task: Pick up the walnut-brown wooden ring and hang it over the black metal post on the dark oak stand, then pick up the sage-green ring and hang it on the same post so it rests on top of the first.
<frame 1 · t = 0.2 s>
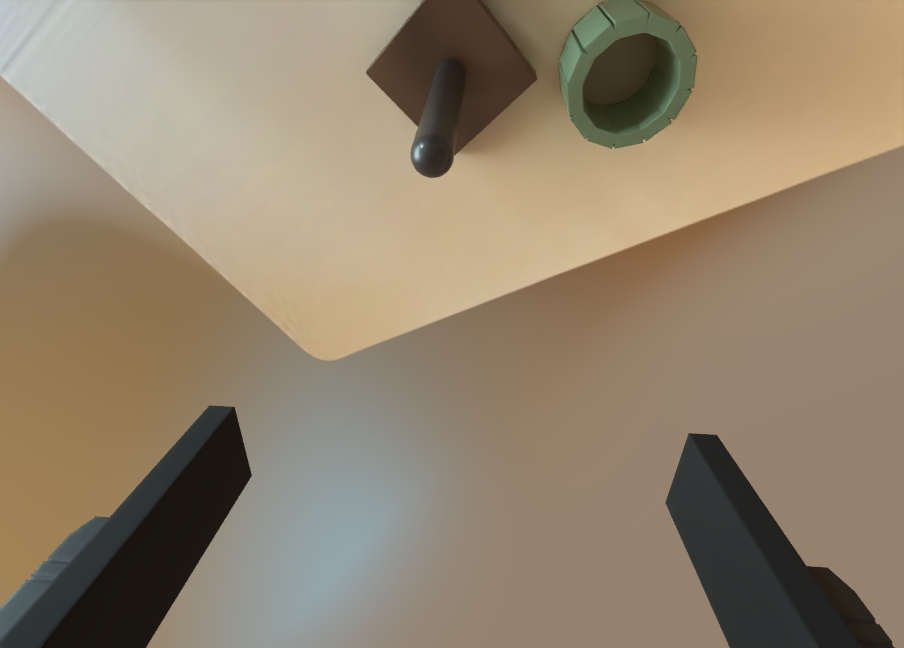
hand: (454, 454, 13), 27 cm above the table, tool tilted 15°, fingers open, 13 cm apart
ring post: (452, 69, 30), on the table
sage ring: (613, 62, 29), on the table
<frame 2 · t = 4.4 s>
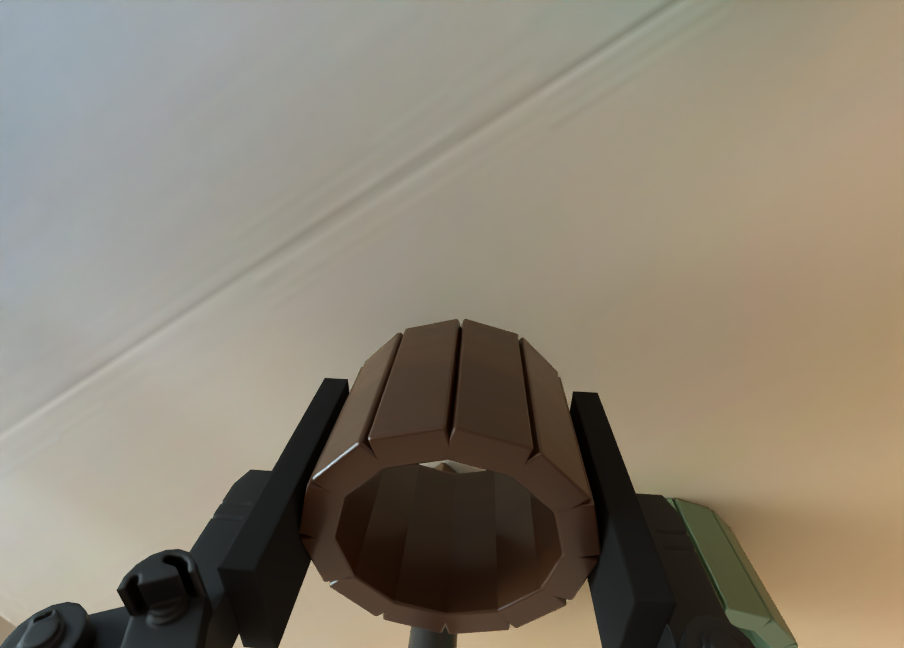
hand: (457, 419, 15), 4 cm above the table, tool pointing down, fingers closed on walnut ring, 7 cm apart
ring post: (442, 545, 23), on the table
sage ring: (656, 550, 22), on the table
walnut ring: (458, 414, 15), point 3 cm above the table, touching gripper
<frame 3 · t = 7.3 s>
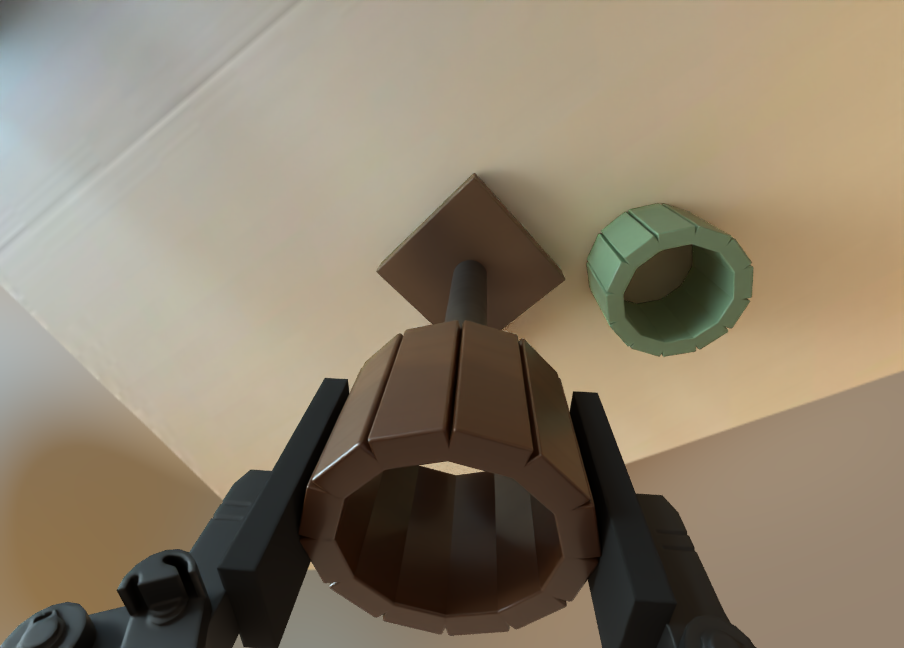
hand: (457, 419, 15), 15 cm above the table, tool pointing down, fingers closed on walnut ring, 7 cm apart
ring post: (470, 267, 28), on the table
sage ring: (646, 263, 27), on the table
walnut ring: (458, 415, 15), point 14 cm above the table, touching gripper
when the fingers open (5 cm above the table, at t = 10.4 s): walnut ring drops 3 cm, resting on ring post.
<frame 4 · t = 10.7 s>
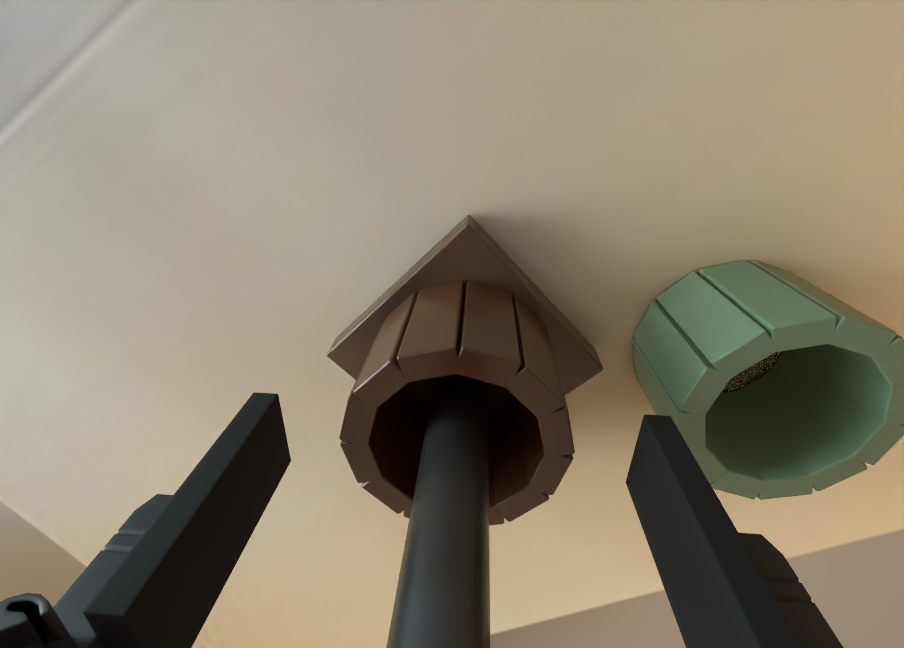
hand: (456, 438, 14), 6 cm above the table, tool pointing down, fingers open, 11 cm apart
ring post: (464, 344, 19), on the table
sage ring: (720, 342, 19), on the table
walnut ring: (462, 362, 18), point 1 cm above the table, touching ring post
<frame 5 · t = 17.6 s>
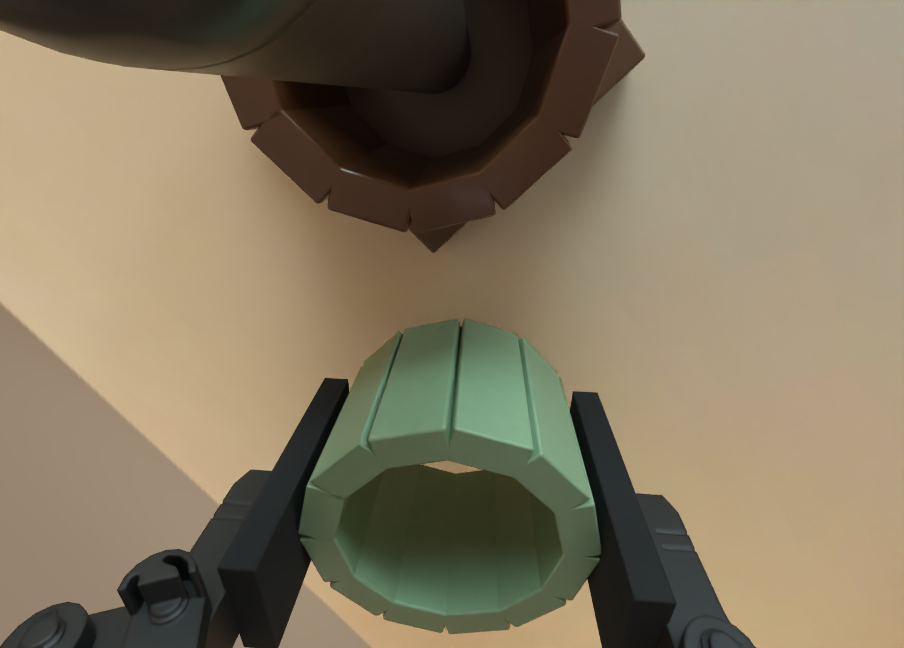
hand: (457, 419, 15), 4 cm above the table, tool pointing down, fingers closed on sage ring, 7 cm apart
ring post: (437, 56, 13), on the table
sage ring: (458, 413, 15), point 3 cm above the table, touching gripper
walnut ring: (433, 52, 12), point 1 cm above the table, touching ring post
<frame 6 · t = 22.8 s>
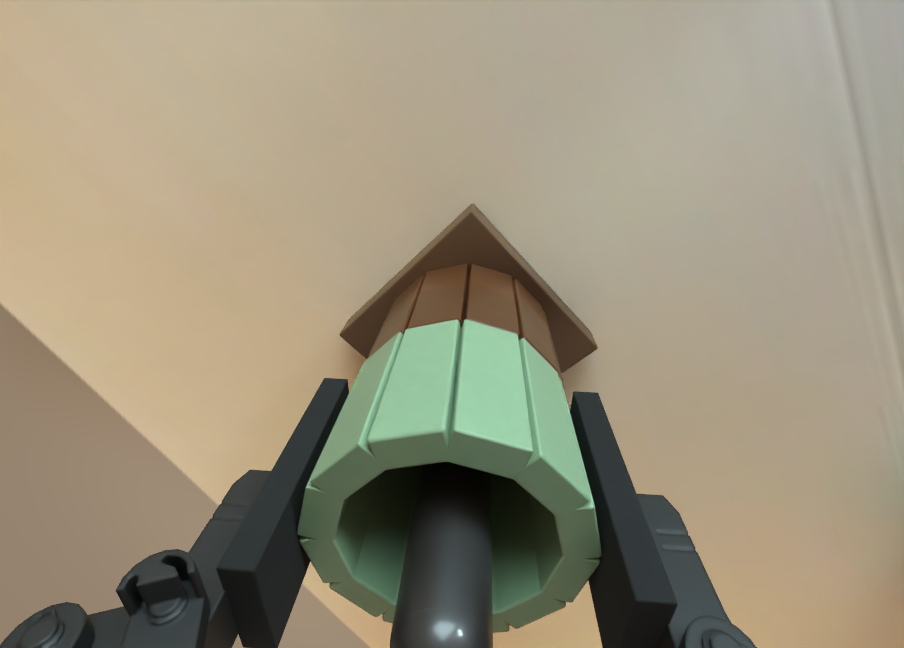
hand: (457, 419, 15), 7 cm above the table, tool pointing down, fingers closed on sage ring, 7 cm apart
ring post: (467, 326, 21), on the table
sage ring: (458, 414, 15), point 7 cm above the table, touching gripper, walnut ring
walnut ring: (466, 341, 19), point 1 cm above the table, touching gripper, ring post, sage ring
when the fingers open (7 cm above the table, at t = 23.2 s): sage ring stays where it is, resting on walnut ring.
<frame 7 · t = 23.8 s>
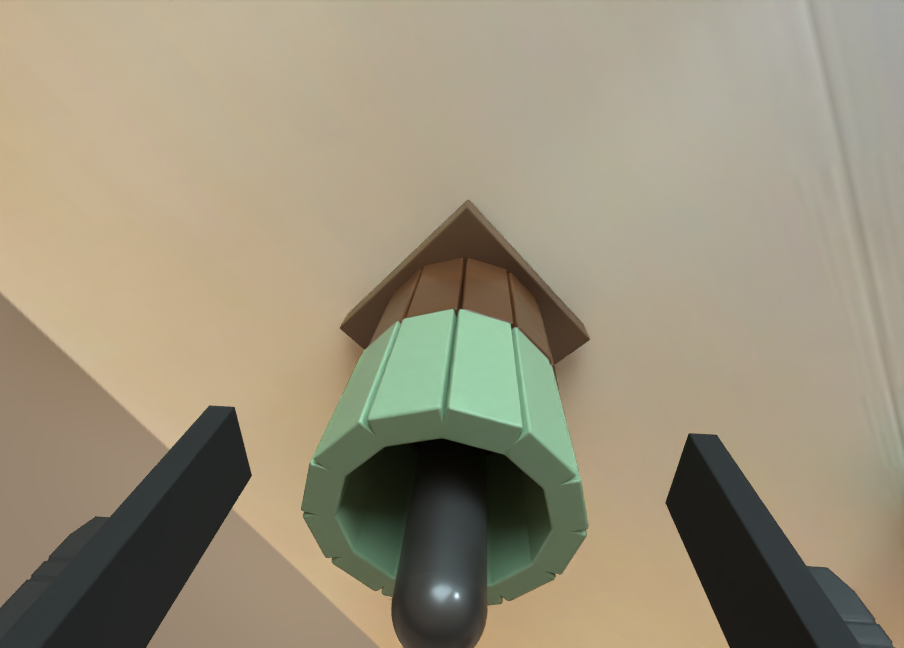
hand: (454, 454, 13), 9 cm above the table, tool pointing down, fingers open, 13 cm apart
ring post: (464, 319, 21), on the table
sage ring: (454, 401, 16), point 6 cm above the table, touching walnut ring
walnut ring: (462, 333, 20), point 1 cm above the table, touching ring post, sage ring
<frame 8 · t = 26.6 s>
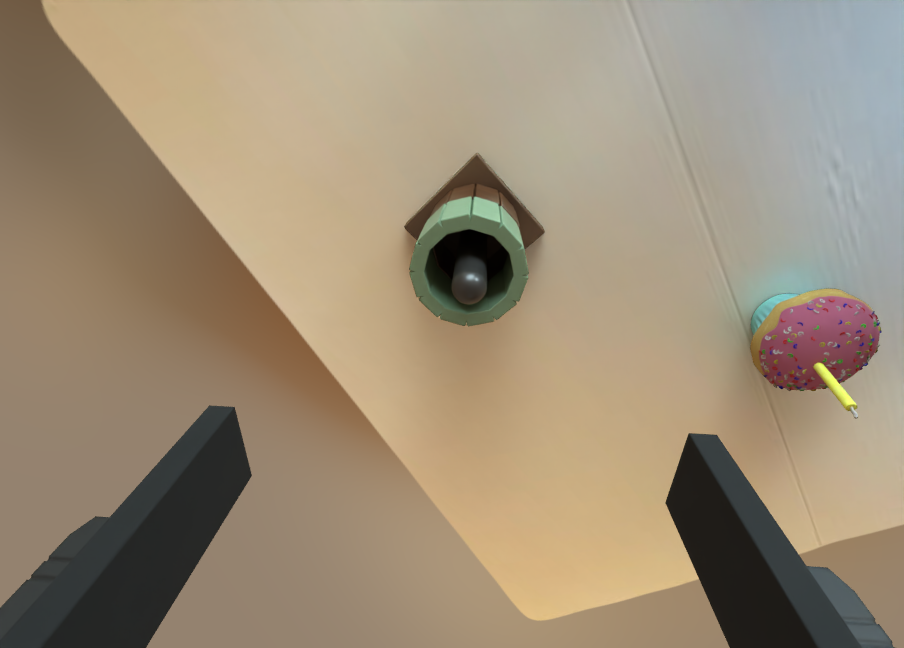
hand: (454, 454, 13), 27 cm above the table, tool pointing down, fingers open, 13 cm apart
cupcake: (778, 315, 39), on the table
ring post: (474, 224, 37), on the table
sage ring: (470, 248, 31), point 6 cm above the table, touching walnut ring
walnut ring: (473, 229, 36), point 1 cm above the table, touching ring post, sage ring
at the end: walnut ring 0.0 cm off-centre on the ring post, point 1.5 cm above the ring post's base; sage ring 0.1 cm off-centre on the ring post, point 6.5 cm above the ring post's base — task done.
